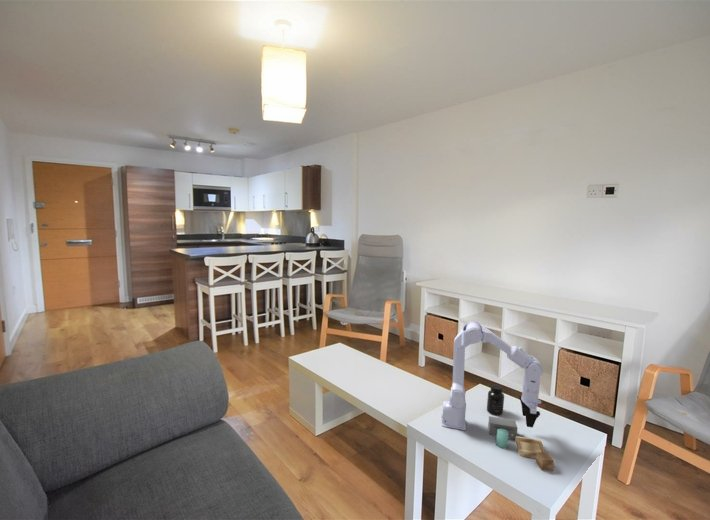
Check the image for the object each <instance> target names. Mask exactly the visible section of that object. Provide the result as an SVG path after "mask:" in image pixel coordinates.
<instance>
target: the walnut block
mask: <svg viewBox="0 0 710 520" xmlns="http://www.w3.org/2000/svg"><path fill="white" fill-rule="evenodd" d="M545 452H546V451H545ZM545 452H537V454H536V459H535V464H536V465H537V466H538V467H539V469H540V470H541V471H554V466H555V465H554V464H555V460H554V458H553V457H552V456H551V455H550V453H549V452H546V453H545Z"/></svg>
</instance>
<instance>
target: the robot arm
mask: <svg viewBox="0 0 710 520" xmlns="http://www.w3.org/2000/svg"><path fill="white" fill-rule="evenodd" d="M479 342H481V344H484V343H490V344H491V345H493V346H495V347H496V348H497V349H499V350H500V351H503V352H504V353H506V356H507V359H509V360H510V361H512V362H513V363H514V364H516V365H517V366H519V367H520V368H521V369H524V376H523V382H522V383H523V384H522V392H521V396H519V397H518V398H519V401H520V404H521V412H522V416H523V417H525V424H526V427H527V428H532V429H533V428H534V425H535V422H536V421H537V419H538V418H539V417H540V415H541V412H540V411H538V410H537V408H538V405H539V404H540V405H541V404H542V401H541V399H539V393H540V384H541V376H542V375H543V373H544V370H543V367H542V364H541V362H540V361H539V359H538V358H537V357H536V356H533V355H532V354H529V353H527V352H526V351H524V349H523V348H522V347H521V346H519V347H518V346H517V345H510V344H509V343H508V342H506V341H505V340H503V339H502V338H501V337H500V336H498V335H497V334H495V333H494V332H492V331H491V330H490V329H488V328H487V327H486V326H484V325H482V324H481V323H479V322H478V321H475V320H473V321H469V322H467V323H466V324H464V325H463V326H462V328H461V329H460V331H459V332H458V333H457V335H456V336H455V338H454V339H453V356H452V357H453V359H452V360H453V361H452V363H453V365H452V385H451V387H450V393H449V394H450V395H449V398H448V400H443V405H442V413H441V420H442V421H441V426H442V427H445V428H449V429H451V428H452V429H456V430H462V431H466V430H467V428H466V427H467V424H466V412H467V410H466V409H467V403H466V394H467V393H466V390H467V389H466V388H465V386H464V385H465V357H466V356H465V355H466V348H467V347H468V346H470V345H474V344H477V343H479Z"/></svg>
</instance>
